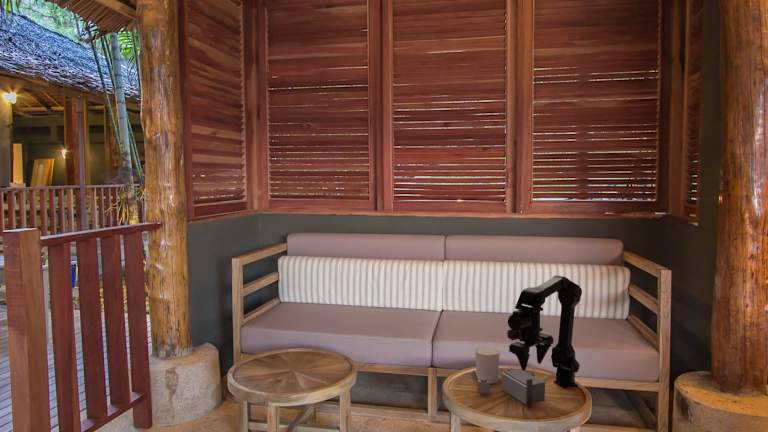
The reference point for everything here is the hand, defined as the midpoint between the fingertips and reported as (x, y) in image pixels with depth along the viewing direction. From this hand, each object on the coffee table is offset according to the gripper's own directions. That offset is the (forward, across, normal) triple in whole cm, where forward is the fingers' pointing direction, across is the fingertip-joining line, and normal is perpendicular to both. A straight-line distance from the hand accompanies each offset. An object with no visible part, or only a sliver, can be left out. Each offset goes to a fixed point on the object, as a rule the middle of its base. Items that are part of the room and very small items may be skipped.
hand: (531, 366), depth 186 cm
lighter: (+13, +8, -18) cm, 23 cm away
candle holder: (+13, -3, -23) cm, 27 cm away
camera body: (+13, -3, -5) cm, 14 cm away
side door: (+13, +2, -5) cm, 14 cm away
